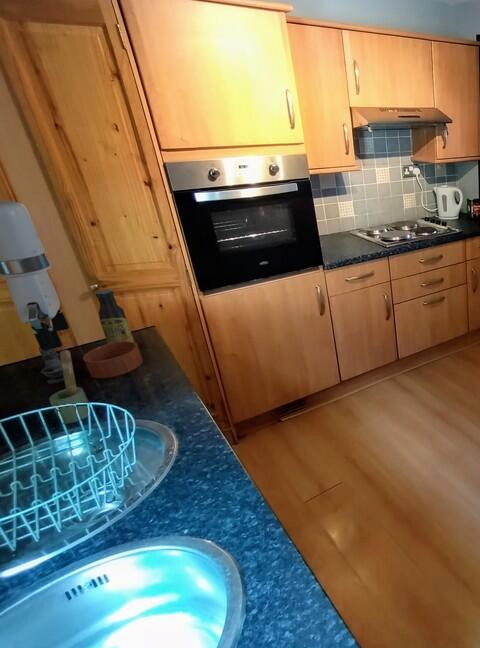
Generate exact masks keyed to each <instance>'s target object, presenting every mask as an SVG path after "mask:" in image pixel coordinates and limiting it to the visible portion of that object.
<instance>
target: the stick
mask: <svg viewBox="0 0 480 648" xmlns="http://www.w3.org/2000/svg"><path fill="white" fill-rule="evenodd" d="M59 360H60V361H61V364H62V370H63V375H64V380H65V381H64V385H65V389H66V391H67V396H68V397H70V396H72V395H74V394H75V393H77V388H76V387H77V382H76V377H75V372H74V365H73V360H72V356H71V351H69V350H68V349H62V350H61V351H60V352H59Z"/></svg>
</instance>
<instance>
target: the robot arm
mask: <svg viewBox="0 0 480 648" xmlns="http://www.w3.org/2000/svg"><path fill="white" fill-rule="evenodd" d="M51 268H52V265H51V262H50V260H49V258H48V255H47V253H46V250H45V248H44V245H43V244H42V240H41V239H40V236H39V234H38V231H37V228H36V226H35V224H34V222H33V219H32V217H31V215H30V212H29V210H28V208H27V206H26V205H24V204H23V203H22V202H19V201H14V200H2V201H1V200H0V277H1V278H5V281H6V285H7V288H8V292H9V294H10V296H11V300H12V302H13V305H14V307H15V310H16V312H17V315H18V317H19V319H20V322H21V323H23V324H28V323H30V325H31V326H30V328H31V330H32V332H33V335H34V337H35V339H36V342H37V344H38V347H39V346H40V348H41V350H48V349H53V348H54V349H58V348H61V347H63V342H62V340H61V338H60V335H59V333H58V332H60V331H66V330H69V328H70V326H69V324H68V321H67V319H66V316H65V313H64V312H62V308H61V302H60V301H61V300H60V297H59V296H58V292H57V290H56V288H55V286H54V284H53V281H52V279H51V277H50V275H49V272H48V270H50V269H51Z"/></svg>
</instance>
